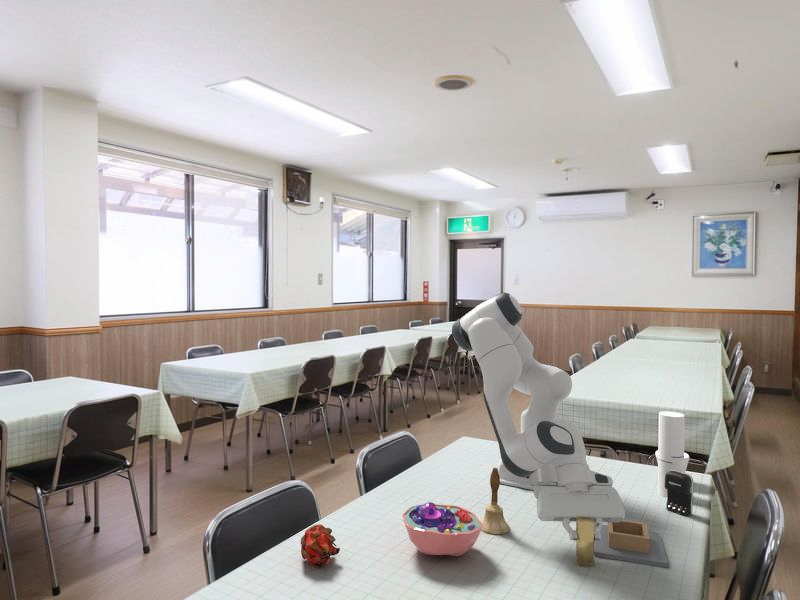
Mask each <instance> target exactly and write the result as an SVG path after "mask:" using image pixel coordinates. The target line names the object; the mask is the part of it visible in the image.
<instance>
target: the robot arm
mask: <svg viewBox="0 0 800 600" xmlns="http://www.w3.org/2000/svg"><path fill="white" fill-rule="evenodd" d="M522 317H523V312H522V306H521V304H520V303H519V301H518V299H516V297H514V296H512V295H511V294H510V293H509V292H501V293H497V294H495V295H494V296H493V297H491V298H489V299H487V300H486V301H483V302H482V303H479V304H478V305H476V306H475V307H474V308H472V309H471V310H470V311H468V312H467V313H465V315H463V316H462V317H461V318H458V319H457V320H456V321H455V322H454V323H453V324H452V325H451V334H452V336H453V339H454V342H455V343H456V344H457V345H458V347H460V348H461V349H462V350H464V351H468V352H473V354H474V357H475V359H476V362H477V363H478V364H479V367H480V371H481V374H482V378H483V388H482V396H483V400H484V404H485V407H486V409H487V413H488V417H489V419H490V421H491V426H492V428H493V431H494V434H495V437H496V440H497V444H498V447H499V454H500V458H499V460H498V461H497V462H498V463H497V467H496V468H497V469H498V473H499V476H500V485H506V486H511V487H515V488H516V487H517V488H521V489H526V490H531V491H533V495H534V498H535V499H536V513H537V517H538V519H539V520H540V521H541V522H561V524H562V527H563V528H564V530H565V531H566V532H567V533H568V536H569V540H570V541H576V540H577V539H578V535H577V531H576V529H573V528H572V527H571V525H570V523H571V522H572V523H573V522H574V523H576V519H577V518H578V517H589V518H591V519H593V520H594V522H595V523H594V524H595V526H598V527H597V530H596V531H594V541H600V540H601V533H600V531H601V528H602V525H604V523H608V522H621V520H624V518H625V516H626V515H625V514H626V511H625V506H624V503H623V501H622V499H621V496H620V494H619V492H618V490H617V489H616V488H615V487H614V486H613V484H614V481H613V478H612V477H611V476H610V475H607V474H603V473H599V472H597V471H594V470H591V468H590V466H589V464H588V462H587V451H586V447H585V443H584V439H583V436H582V435H581V432H580V429H579V428H578V425H576V424H575V423H574V422H573V421H571V420H568V419H557V413H558V411H559V407H560V405H561V403H562V402H563V401H565V399H567V398H568V397H569V396H570V394H571V392H572V389H573V381H572V376H570V374H569V373H568V372H567V371H565V370H563V369H561V368H559V367H557V366H553V365H549V364H544V363H540V361H537V360H536V359H535V358H534V355H533V354H534V345H533V343H532V342H531V341H530V339H529V338H528V336H527V334H525V333H524V331H523V330H522V328H521V327H520V326H519V325H518V323H520V322H521V320H522ZM513 389H514V390H516V391H518V392H520V393H522V394H526V395H529V396H530V401H529V404H528V407H527V408H526V409H525V410H523V411H522V413H521V416H520V434H519V433H518V432H517V429H516V426H515V423H514V421H513V418H512V415H511V412H510V409H509V401H510V396H511V394H512V391H513ZM556 419H557V420H556ZM491 473H492V471H491V472H490V474H491Z"/></svg>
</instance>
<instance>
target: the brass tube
mask: <svg viewBox="0 0 800 600" xmlns="http://www.w3.org/2000/svg"><path fill="white" fill-rule="evenodd" d="M594 523H595V522H594V520H593V519H591V518H589V517H578V518H577V519H576V522H575V525H576V526H575V527H576V528H575V530H576V531H577V535H578V539H577V540H575V563H576V564H577V565H579V566H581V567H584V568H591V567H593V566H594V565H595V556H594Z"/></svg>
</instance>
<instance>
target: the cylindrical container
mask: <svg viewBox="0 0 800 600" xmlns="http://www.w3.org/2000/svg"><path fill="white" fill-rule="evenodd" d="M685 417H686V416H685V414H684V413H680V412H676V411H665V410H664V411H659V412H658V439H657V440H658V447H657V448H658V449H657V450H658V462H657V467H658V468H657V493H658V495H660V496H662V497H664V498H667V489H665V475H666V473H667V472H669V471H671V470H677V471H680V472H684V453H685V430H686V429H685V425H686V424H685V423H686V422H685V419H686V418H685Z"/></svg>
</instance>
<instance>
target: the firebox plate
mask: <svg viewBox="0 0 800 600" xmlns="http://www.w3.org/2000/svg"><path fill="white" fill-rule="evenodd" d="M647 526H648V525H647V523H646V522H641V521H634V520H628V519H627V520H626V519H622V520H621V522H607V525H606V524H603V525H602V528H601V531H600V533H601V540H600V541H594V557H599V558H605V559H611V560H612V559H613V560H619V561H625V562H631V563H637V564H643V565H648V566H649V565H651V566H656V567H663V568H669V563H668V558H667V555H666V552H665V551H666V550H665V548H664V545H663V541H662V538H661V536H660V532H656V531H648V527H647ZM597 527H598V526H595V524H594V531H596V530H597Z"/></svg>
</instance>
